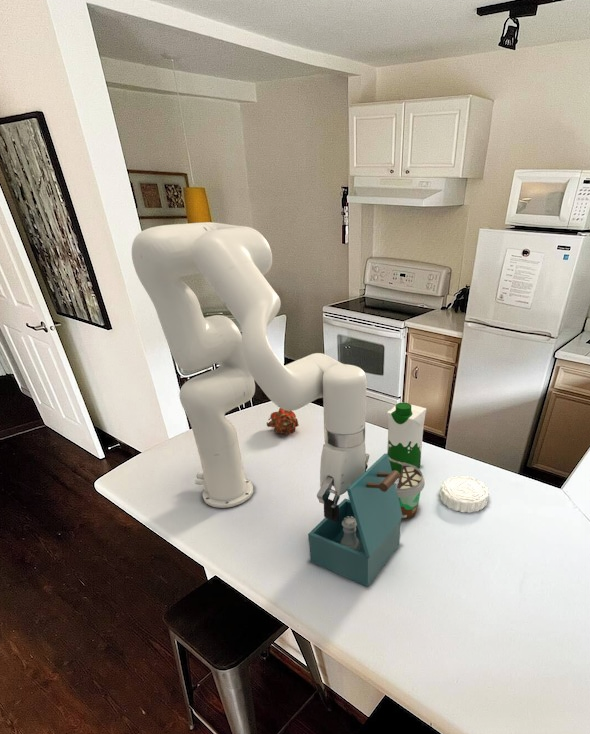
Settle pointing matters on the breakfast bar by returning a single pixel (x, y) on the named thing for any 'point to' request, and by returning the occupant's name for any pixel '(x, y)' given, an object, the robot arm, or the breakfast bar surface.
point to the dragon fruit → (283, 421)
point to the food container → (409, 490)
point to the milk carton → (405, 435)
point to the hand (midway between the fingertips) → (344, 506)
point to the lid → (375, 503)
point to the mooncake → (464, 494)
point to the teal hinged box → (349, 549)
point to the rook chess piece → (350, 534)
